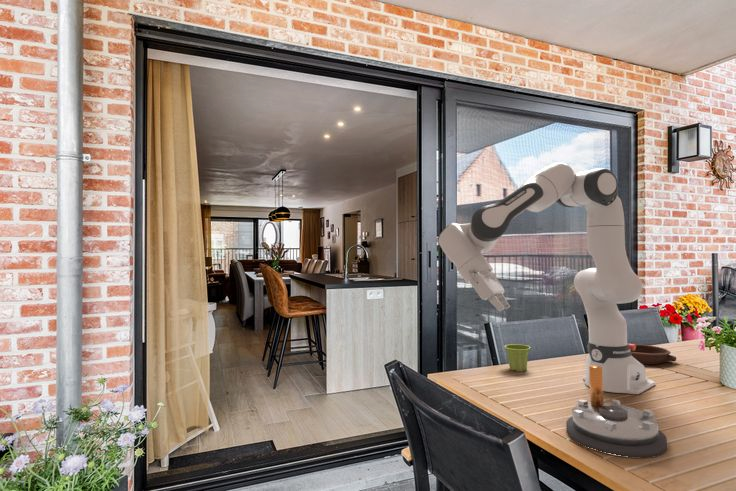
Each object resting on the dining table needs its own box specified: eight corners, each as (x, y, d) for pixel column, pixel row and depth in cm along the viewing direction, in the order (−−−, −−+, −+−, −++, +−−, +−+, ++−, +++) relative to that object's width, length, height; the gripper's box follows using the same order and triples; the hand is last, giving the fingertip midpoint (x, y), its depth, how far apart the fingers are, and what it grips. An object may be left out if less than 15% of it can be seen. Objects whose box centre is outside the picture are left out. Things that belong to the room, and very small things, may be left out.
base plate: (601, 414, 116) (601, 407, 116) (686, 444, 97) (686, 436, 97) (548, 430, 107) (547, 423, 107) (630, 467, 88) (630, 458, 88)
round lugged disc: (602, 409, 114) (601, 361, 114) (675, 434, 98) (673, 378, 98) (556, 422, 106) (554, 371, 107) (627, 452, 90) (625, 391, 90)
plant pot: (501, 366, 166) (500, 344, 166) (524, 365, 166) (523, 343, 166) (511, 373, 156) (510, 350, 156) (535, 372, 157) (534, 348, 157)
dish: (677, 370, 155) (677, 356, 155) (609, 362, 167) (608, 350, 167) (675, 359, 169) (675, 346, 169) (612, 353, 182) (612, 341, 182)
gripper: (476, 263, 116) (508, 304, 111) (491, 265, 134) (519, 301, 129) (458, 276, 118) (488, 318, 113) (475, 277, 136) (502, 313, 131)
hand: (505, 309), depth 121 cm, fingers open, 8 cm apart
